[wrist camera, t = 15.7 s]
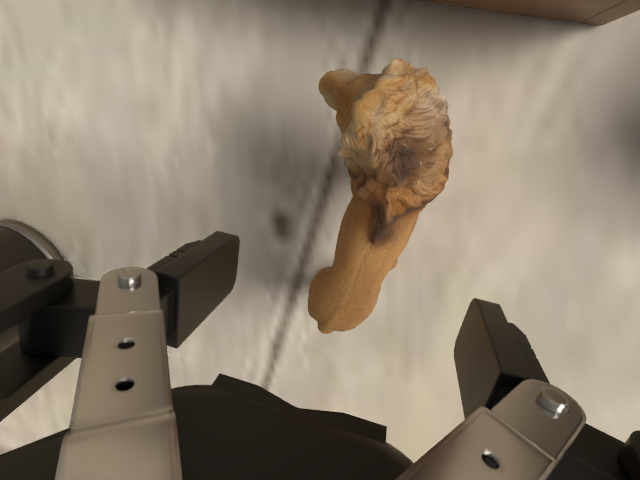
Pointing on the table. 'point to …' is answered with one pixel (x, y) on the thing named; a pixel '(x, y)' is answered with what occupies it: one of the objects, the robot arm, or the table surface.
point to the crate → (556, 8)
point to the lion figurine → (380, 181)
